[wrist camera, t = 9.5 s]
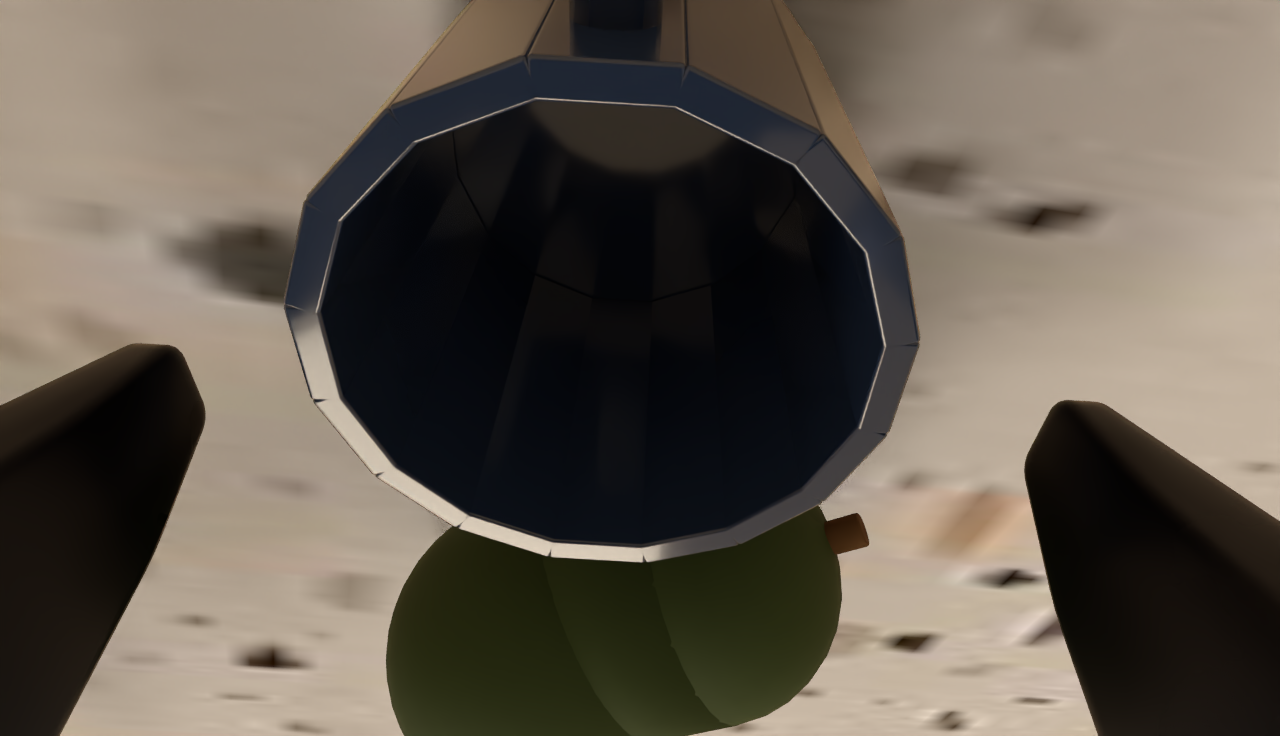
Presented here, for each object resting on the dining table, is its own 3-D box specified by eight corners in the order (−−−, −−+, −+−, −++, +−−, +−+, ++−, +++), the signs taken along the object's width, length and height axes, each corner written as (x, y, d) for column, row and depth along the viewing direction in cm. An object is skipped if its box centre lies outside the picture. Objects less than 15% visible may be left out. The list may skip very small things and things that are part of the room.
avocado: (520, 622, 23) (474, 878, 18) (376, 485, 20) (264, 757, 14) (883, 523, 20) (958, 805, 14) (791, 332, 16) (848, 617, 11)
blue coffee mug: (787, 310, 16) (840, 575, 11) (458, 291, 16) (354, 547, 11) (915, -318, 10) (1182, -401, 5) (378, -350, 10) (48, -465, 5)
